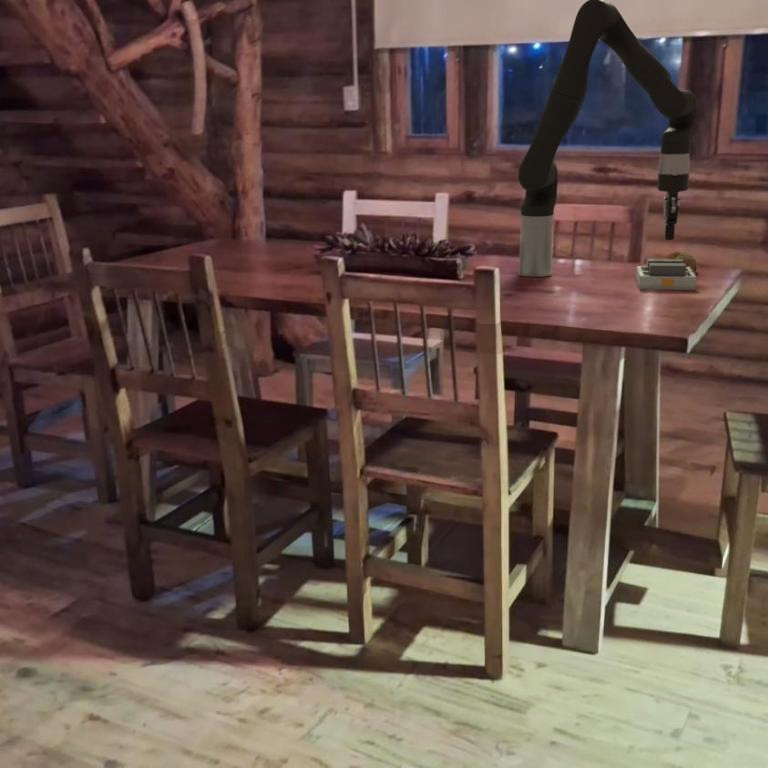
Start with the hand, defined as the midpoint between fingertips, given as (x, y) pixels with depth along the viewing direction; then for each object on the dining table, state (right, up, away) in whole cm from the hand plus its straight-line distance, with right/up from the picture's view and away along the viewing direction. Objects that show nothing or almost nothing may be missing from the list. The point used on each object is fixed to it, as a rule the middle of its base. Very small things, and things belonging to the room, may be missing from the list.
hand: (669, 239), depth 229 cm
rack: (+1, -11, +7) cm, 13 cm away
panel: (0, -11, +4) cm, 12 cm away
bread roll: (+10, -6, +23) cm, 26 cm away
